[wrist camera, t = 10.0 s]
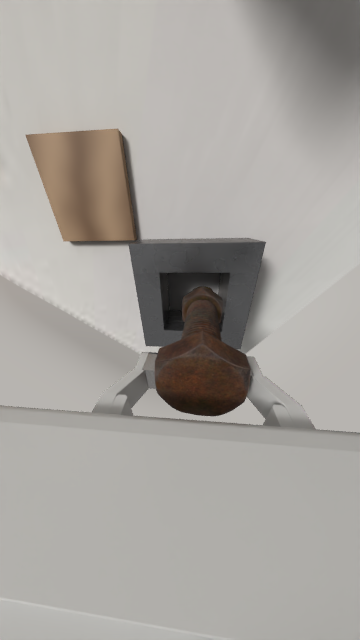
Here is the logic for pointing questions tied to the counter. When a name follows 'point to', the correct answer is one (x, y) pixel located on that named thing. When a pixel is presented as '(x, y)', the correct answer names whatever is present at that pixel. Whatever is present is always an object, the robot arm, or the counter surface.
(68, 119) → the counter surface
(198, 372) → the bolt
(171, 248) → the socket block
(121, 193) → the walnut pad
